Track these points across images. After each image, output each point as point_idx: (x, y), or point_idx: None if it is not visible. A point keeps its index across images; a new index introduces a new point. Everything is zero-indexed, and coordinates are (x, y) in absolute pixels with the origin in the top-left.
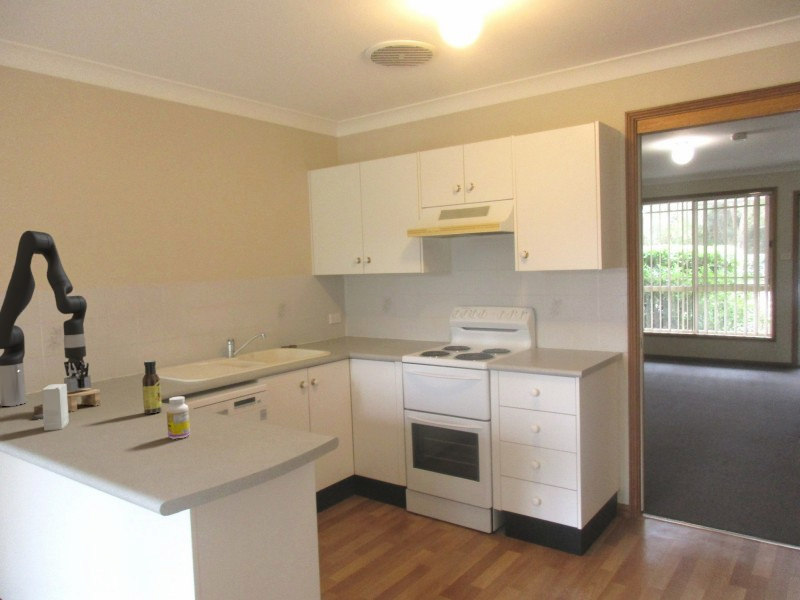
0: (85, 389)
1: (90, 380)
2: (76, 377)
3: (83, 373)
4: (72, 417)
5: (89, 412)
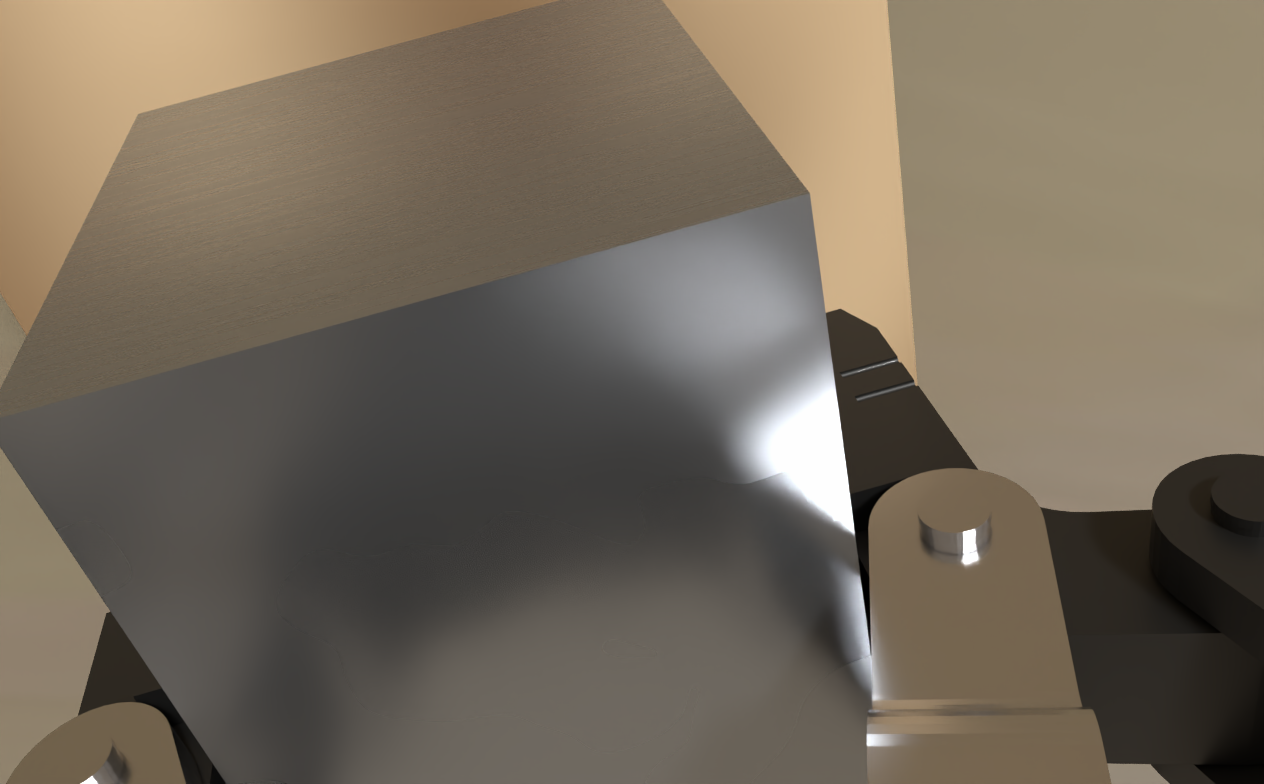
0: (249, 62)
1: (714, 78)
2: (759, 780)
3: (1067, 700)
4: (1206, 419)
5: (1170, 125)
